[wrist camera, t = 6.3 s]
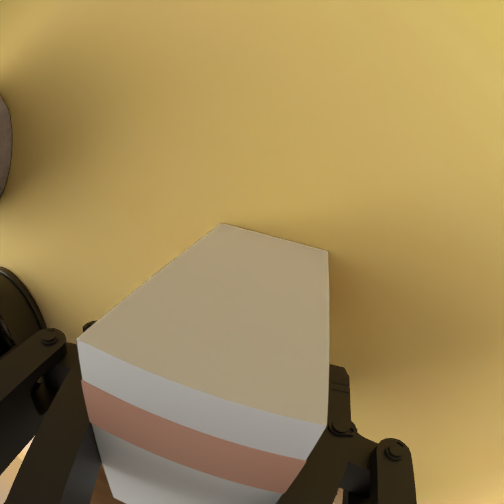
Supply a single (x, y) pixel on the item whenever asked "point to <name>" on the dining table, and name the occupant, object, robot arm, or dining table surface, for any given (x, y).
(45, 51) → the dining table surface
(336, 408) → the robot arm
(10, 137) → the pillar candle
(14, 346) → the french press
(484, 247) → the dining table surface
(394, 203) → the dining table surface
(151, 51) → the dining table surface
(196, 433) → the white carton
